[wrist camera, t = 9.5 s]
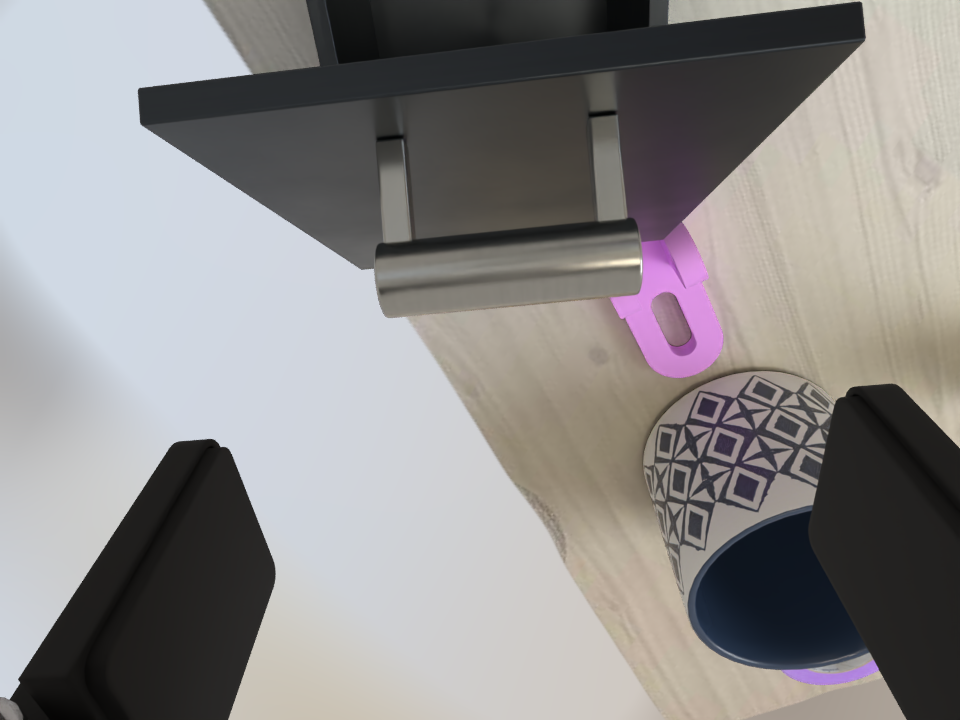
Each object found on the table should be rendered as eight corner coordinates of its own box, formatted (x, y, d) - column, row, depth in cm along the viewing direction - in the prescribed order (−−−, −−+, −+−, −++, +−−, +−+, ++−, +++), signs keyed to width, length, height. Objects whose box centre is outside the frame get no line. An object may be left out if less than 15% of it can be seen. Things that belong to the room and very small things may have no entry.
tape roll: (808, 558, 60) (827, 593, 57) (911, 590, 62) (935, 626, 59) (737, 633, 66) (750, 668, 62) (833, 660, 68) (851, 696, 64)
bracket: (585, 237, 44) (600, 280, 38) (663, 197, 42) (692, 235, 37) (656, 379, 50) (679, 435, 44) (727, 348, 48) (761, 402, 42)
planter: (857, 483, 55) (963, 632, 43) (674, 540, 59) (724, 694, 47) (819, 335, 48) (934, 464, 35) (613, 412, 51) (653, 553, 39)
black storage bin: (330, -153, 33) (261, -204, 23) (618, -194, 32) (678, -265, 22) (391, 187, 42) (362, 258, 32) (618, 163, 41) (660, 228, 31)
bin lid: (136, 87, 14) (153, 327, 13) (863, -1, 13) (891, 256, 12) (359, 253, 32) (368, 355, 32) (662, 223, 31) (672, 328, 31)
